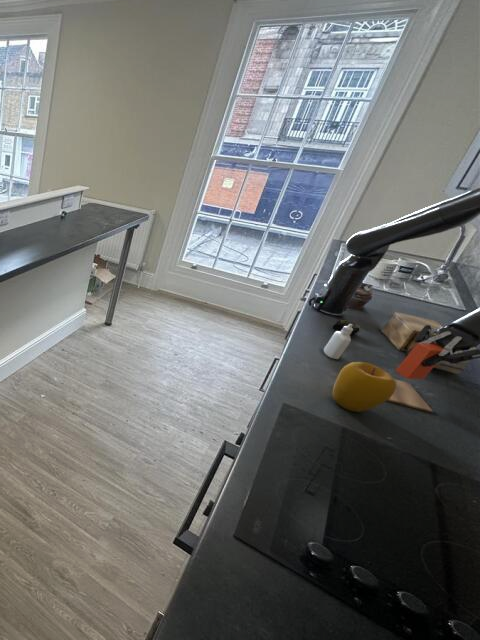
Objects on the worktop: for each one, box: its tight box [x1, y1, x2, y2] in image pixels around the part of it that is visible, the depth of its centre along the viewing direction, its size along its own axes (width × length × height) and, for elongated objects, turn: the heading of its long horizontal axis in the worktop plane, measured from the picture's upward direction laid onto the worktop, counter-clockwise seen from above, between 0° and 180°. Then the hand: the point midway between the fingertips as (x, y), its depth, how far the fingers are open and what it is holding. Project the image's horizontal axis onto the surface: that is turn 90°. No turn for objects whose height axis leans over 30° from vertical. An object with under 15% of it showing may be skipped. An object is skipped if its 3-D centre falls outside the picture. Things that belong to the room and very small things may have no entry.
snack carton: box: [395, 343, 444, 380], centre depth 113 cm, size 4×6×10 cm, turn 96°
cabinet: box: [381, 311, 444, 353], centre depth 142 cm, size 15×12×8 cm
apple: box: [332, 361, 396, 413], centre depth 107 cm, size 11×11×13 cm
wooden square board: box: [386, 378, 434, 413], centre depth 118 cm, size 12×14×1 cm
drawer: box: [405, 333, 471, 374], centre depth 132 cm, size 18×11×6 cm, turn 156°
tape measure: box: [332, 319, 360, 337], centre depth 147 cm, size 7×7×4 cm
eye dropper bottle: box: [323, 324, 353, 360], centre depth 130 cm, size 4×6×12 cm
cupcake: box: [346, 281, 374, 310], centre depth 169 cm, size 10×10×10 cm
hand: (415, 360), depth 113 cm, fingers closed on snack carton, 3 cm apart
